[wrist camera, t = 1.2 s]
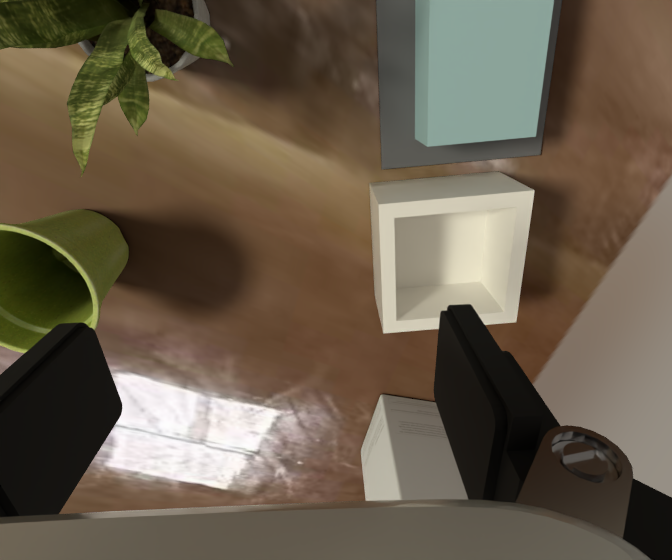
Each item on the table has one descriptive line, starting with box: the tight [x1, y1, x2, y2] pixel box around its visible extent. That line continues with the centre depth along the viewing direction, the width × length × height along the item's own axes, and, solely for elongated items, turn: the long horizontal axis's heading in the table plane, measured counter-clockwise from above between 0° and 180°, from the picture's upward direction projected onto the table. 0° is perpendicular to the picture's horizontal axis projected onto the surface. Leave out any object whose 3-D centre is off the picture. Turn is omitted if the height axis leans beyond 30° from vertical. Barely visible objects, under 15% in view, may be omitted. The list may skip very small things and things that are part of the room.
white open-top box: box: [369, 171, 535, 333], centre depth 30 cm, size 10×10×6 cm
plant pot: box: [0, 209, 129, 353], centre depth 29 cm, size 9×9×9 cm
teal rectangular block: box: [415, 0, 554, 147], centre depth 25 cm, size 12×7×4 cm, turn 5°
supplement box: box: [361, 394, 468, 501], centre depth 36 cm, size 9×9×15 cm
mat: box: [376, 0, 562, 169], centre depth 27 cm, size 16×12×1 cm
